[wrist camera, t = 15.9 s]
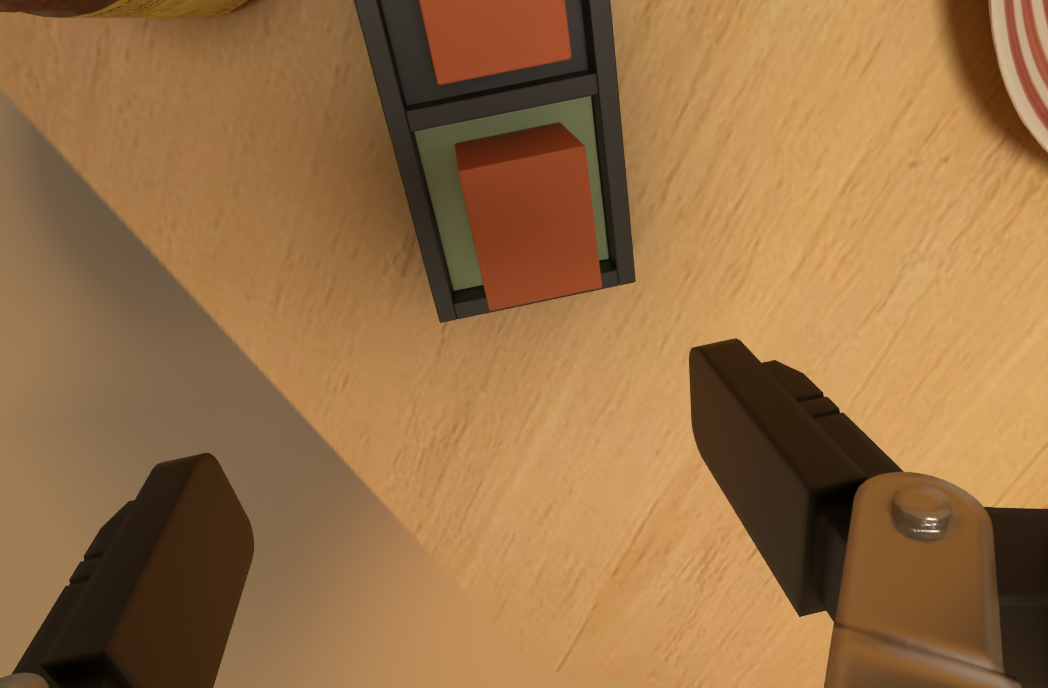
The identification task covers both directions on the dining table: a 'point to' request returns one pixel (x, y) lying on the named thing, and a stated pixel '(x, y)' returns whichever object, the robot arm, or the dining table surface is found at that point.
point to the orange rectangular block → (493, 36)
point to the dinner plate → (1024, 59)
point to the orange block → (530, 214)
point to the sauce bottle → (123, 8)
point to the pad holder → (491, 109)
